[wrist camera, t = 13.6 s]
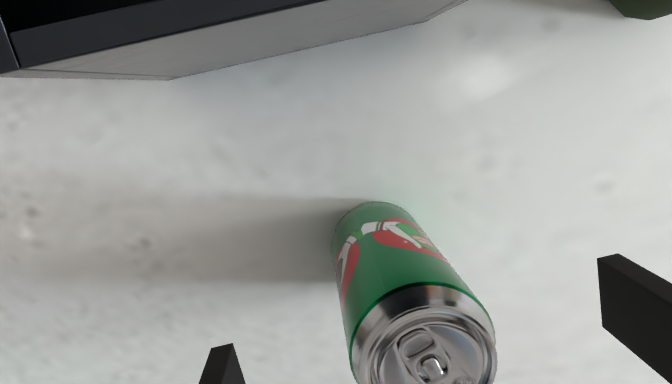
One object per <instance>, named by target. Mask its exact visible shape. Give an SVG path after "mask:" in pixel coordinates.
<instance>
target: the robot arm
mask: <svg viewBox="0 0 672 384" xmlns="http://www.w3.org/2000/svg"><path fill="white" fill-rule="evenodd" d="M597 264H598V277H599V289H600V302H601V314H602V327H604V328H605V329H606V330H607V331H608V332H610V333H611V334H612V335H613V336H614V337H615V338H617V339H618V340H619V341H620V342H621V343H623V344H624V345H625V346H626V347H627V348H629V349H630V350H631V351H632V352H633V353H635V354H636V355H637V356H638V357H639V358H640V359H642V360H643V361H644V362H645V363H646V364H648V365H649V366H650V367H651V368H652V369H654V370H655V371H656V372H657V373H658V374H660V375H661V376H662V377H663V378H664V379H665V380H667V381H668V382H669V383H670V384H672V284H671V283H670V282H668V281H666V280H664V279H663V278H661V277H659V276H657V275H655V274H654V273H652V272H650V271H648V270H647V269H645V268H643V267H641V266H640V265H638V264H636V263H634V262H632V261H631V260H629V259H627V258H625V257H624V256H622V255H620V254H614V255H609V256H605V257H601V258H597ZM199 384H245V381H244V377H243V374H242V371H241V368H240V365H239V362H238V358H237V355H236V352H235V349H234V346H233V343H231V344H227V345H223V346H218V347H214V348H211V350H210V353H209V356H208V359H207V362H206V365H205V367H204V370H203V373H202V376H201V379H200V382H199Z"/></svg>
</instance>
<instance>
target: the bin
mask: <svg viewBox="0 0 672 384" xmlns="http://www.w3.org/2000/svg"><path fill="white" fill-rule="evenodd" d="M465 1H467V0H0V77H16V78H70V79H125V80H172V79H177V78H181V77H186V76H190V75H194V74H199V73H203V72H207V71H212V70H216V69H221V68H225V67H229V66H234V65H238V64H243V63H247V62H251V61H256V60H260V59H265V58H269V57H273V56H278V55H282V54H287V53H291V52H295V51H300V50H304V49H308V48H313V47H317V46H322V45H326V44H330V43H335V42H339V41H344V40H348V39H352V38H357V37H361V36H366V35H370V34H374V33H379V32H383V31H387V30H392V29H396V28H401V27H405V26H409V25H414V24H418V23H423V22H426V21H428V20H430V19H432V18H434V17H436V16H438V15H440V14H442V13H444V12H446V11H448V10H450V9H452V8H454V7H456V6H457V5H459V4H461V3H463V2H465Z"/></svg>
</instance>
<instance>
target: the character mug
mask: <svg viewBox="0 0 672 384" xmlns="http://www.w3.org/2000/svg"><path fill="white" fill-rule="evenodd" d="M609 1H610V2H611V3H612V4H613V5H614V6H615V7H616V8H617V9H618V10H619V11H620V12H621V13H622V14H623V15H624V16H625V17H631V18H637V19H644V20H652V19H655V18H659V17H662V16H666V15H669V14H672V0H609Z"/></svg>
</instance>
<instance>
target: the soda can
mask: <svg viewBox="0 0 672 384" xmlns="http://www.w3.org/2000/svg"><path fill="white" fill-rule="evenodd" d="M331 251H332V257H333V263H334V269H335V275H336V281H337V287H338V293H339V299H340V306H341V312H342V318H343V324H344V330H345V336H346V342H347V348H348V354H349V360H350V366H351V370H352V373H353V375H354V378H355V380H356V382H357V383H358V384H493V381H494V378H495V375H496V370H497V353H496V348H495V343H496V342H495V331H494V327H493V324H492V321H491V319H490V317H489V314H488V312H487V311H486V310H485V308H484V307H483V305H482V304H481V303H480V301H479V300H478V299H477V298H476V296H475V295H474V294H473V293H472V291H471V290H470V289H469V288H468V286H467V285H466V284H465V283H464V281H463V280H462V279H461V278H460V276H459V275H458V274H457V273H456V272H455V270H454V269H453V268H452V267H451V265H450V264H449V263H448V262H447V260H446V259H445V258H444V257H443V255H442V254H441V253H440V252H439V250H438V249H437V248H436V247H435V245H434V244H433V243H432V242H431V240H430V239H429V238H428V237H427V235H426V234H425V233H424V232H423V230H422V229H421V228H420V227H419V225H418V224H417V223H416V222H415V220H414V219H413V218H412V217H411V216H410V215H409V214H408V213H407V212H406V211H405V210H403V209H402V208H400V207H398V206H396V205H394V204H390V203H386V202H371V203H366V204H363V205H360V206H358V207H356V208H354V209H352V210H351V211H349V212H348V213H347V214H346V215H345V216H344V217H343V218H342V219H341V220H340V222H339V223H338V225H337V227H336V228H335V231H334V233H333V236H332V242H331Z"/></svg>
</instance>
